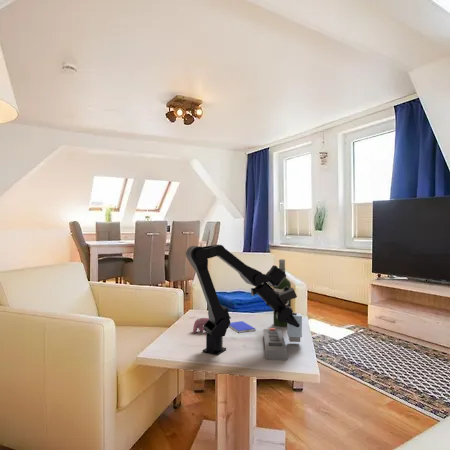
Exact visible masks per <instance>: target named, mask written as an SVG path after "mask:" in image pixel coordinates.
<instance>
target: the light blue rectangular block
mask: <svg viewBox="0 0 450 450" xmlns="http://www.w3.org/2000/svg"><path fill="white" fill-rule="evenodd" d="M292 315H293V316H294V318H295V319H296V321H297V322H298V323H299V325H300V326H299V327H295V326H293V325H291V324H288V323H287V327H286V328H287V330H286V331H287V332H286V333H287V336H288V341H289V342H290V343H291V342H292V343H301V338H302V337H303V331H302V330H303V315H302V314H301V313H298V312H292Z"/></svg>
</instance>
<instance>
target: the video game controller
mask: <svg viewBox="0 0 450 450" xmlns="http://www.w3.org/2000/svg"><path fill="white" fill-rule="evenodd" d="M208 320H209V317H201V318H197V319H195V321H194V324H193V328H192V332H193V334H196V333H197V330H199V332H202V333H203V332H205V330H204V328H203V326H204V324H205V323H206V322H207V321H208Z"/></svg>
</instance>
